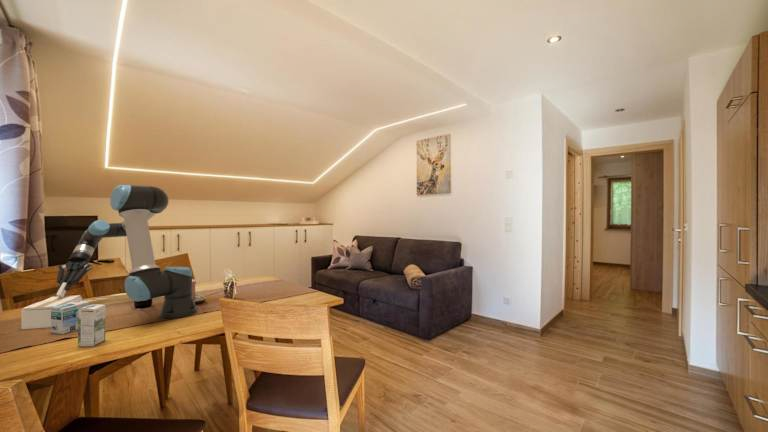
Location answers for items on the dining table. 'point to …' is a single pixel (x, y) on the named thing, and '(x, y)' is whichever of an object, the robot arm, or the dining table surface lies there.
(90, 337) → the syrup box
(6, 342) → the dining table surface
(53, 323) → the light bulb box
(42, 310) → the carton
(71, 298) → the flap
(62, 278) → the robot arm
